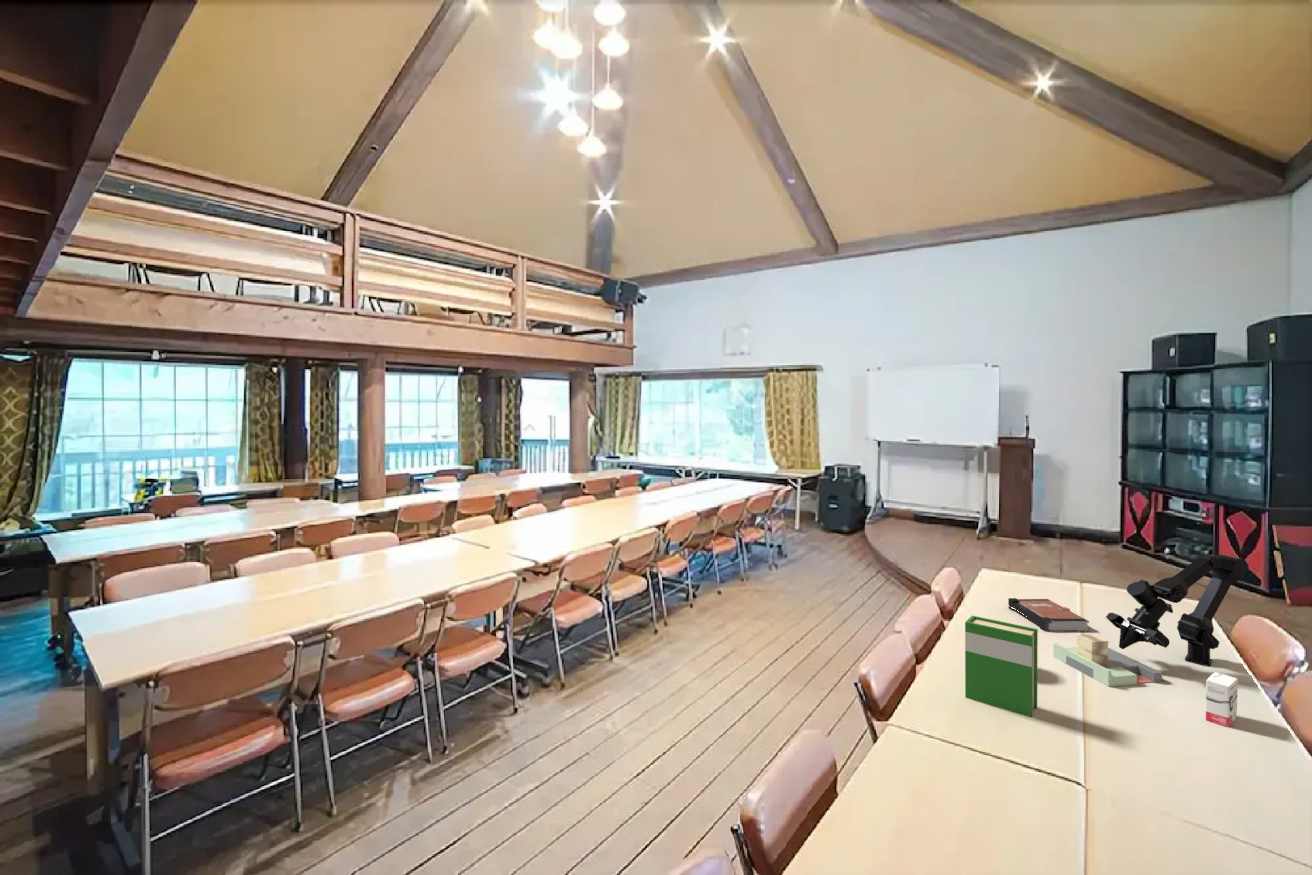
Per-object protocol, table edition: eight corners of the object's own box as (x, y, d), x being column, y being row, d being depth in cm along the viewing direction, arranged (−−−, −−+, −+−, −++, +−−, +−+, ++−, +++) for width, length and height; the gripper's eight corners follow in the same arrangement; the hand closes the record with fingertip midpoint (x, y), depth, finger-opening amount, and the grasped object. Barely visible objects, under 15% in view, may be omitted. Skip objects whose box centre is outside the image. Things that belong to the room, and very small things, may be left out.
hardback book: (1037, 707, 172) (1037, 628, 171) (1031, 717, 166) (1032, 636, 165) (972, 688, 184) (972, 615, 183) (965, 697, 179) (965, 622, 178)
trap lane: (1102, 652, 207) (1102, 639, 206) (1162, 681, 185) (1162, 666, 185) (1053, 656, 205) (1053, 643, 204) (1108, 686, 183) (1108, 671, 183)
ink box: (1228, 727, 158) (1229, 686, 158) (1204, 719, 163) (1205, 679, 162) (1237, 717, 163) (1238, 677, 162) (1213, 710, 167) (1214, 671, 167)
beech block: (1092, 656, 197) (1092, 633, 197) (1108, 664, 191) (1108, 640, 191) (1076, 657, 197) (1076, 635, 196) (1091, 665, 191) (1091, 642, 190)
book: (1090, 632, 226) (1090, 619, 226) (1044, 632, 227) (1044, 620, 227) (1049, 609, 252) (1049, 597, 252) (1008, 609, 253) (1008, 598, 253)
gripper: (1193, 638, 187) (1162, 675, 187) (1139, 618, 206) (1111, 651, 205) (1171, 617, 186) (1140, 653, 185) (1119, 598, 204) (1091, 631, 204)
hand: (1120, 647), depth 195 cm, fingers closed
